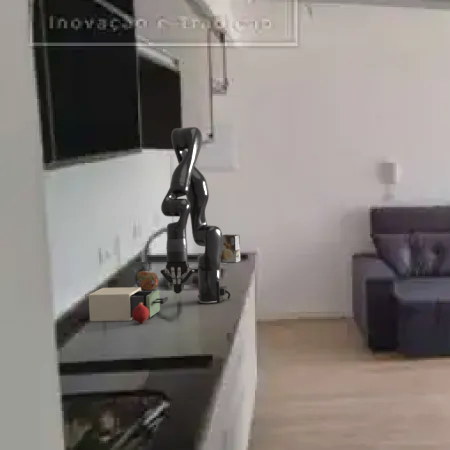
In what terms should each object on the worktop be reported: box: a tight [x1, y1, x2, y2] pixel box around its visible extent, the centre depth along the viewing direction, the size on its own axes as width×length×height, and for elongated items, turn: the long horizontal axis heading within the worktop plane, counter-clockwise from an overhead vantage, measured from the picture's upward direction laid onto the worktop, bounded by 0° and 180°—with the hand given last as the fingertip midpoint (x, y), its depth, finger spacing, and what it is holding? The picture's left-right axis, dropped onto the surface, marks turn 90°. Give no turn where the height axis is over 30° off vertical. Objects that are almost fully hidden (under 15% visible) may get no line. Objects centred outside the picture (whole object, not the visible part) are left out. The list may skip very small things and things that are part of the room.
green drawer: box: [130, 289, 169, 319], centre depth 245 cm, size 18×12×8 cm, turn 95°
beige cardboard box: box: [88, 286, 142, 322], centre depth 244 cm, size 15×13×10 cm
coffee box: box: [221, 233, 241, 263], centre depth 374 cm, size 9×6×16 cm
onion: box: [132, 302, 150, 324], centre depth 235 cm, size 6×6×8 cm
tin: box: [134, 270, 159, 291], centre depth 296 cm, size 15×3×8 cm, turn 56°
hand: (178, 293), depth 246 cm, fingers closed
